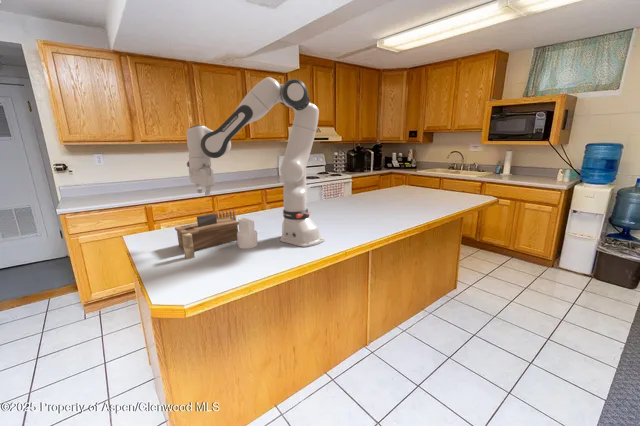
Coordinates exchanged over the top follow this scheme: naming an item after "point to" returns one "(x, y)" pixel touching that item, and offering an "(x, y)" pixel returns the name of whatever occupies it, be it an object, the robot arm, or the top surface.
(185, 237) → the pin
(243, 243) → the base with upright slab
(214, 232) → the toolbox
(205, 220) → the lid
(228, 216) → the ammunition clip
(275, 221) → the top surface
